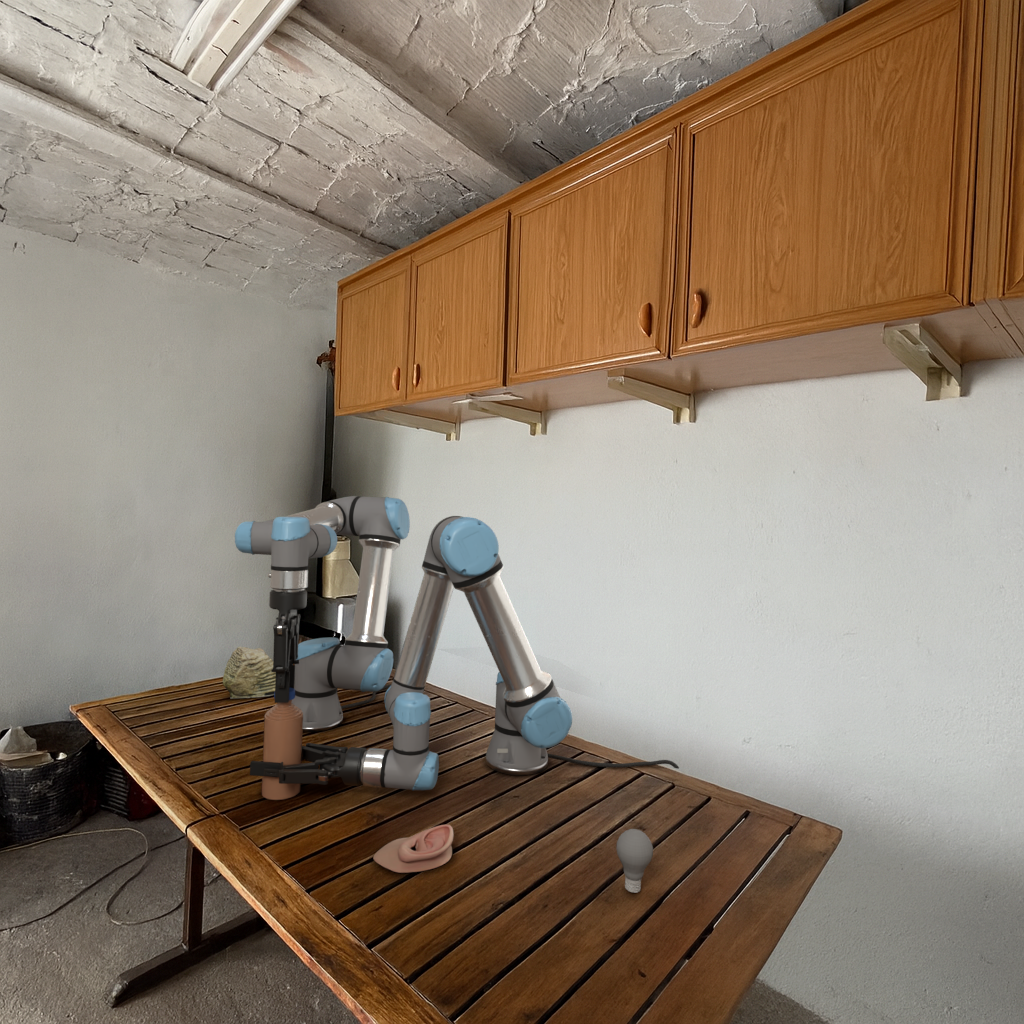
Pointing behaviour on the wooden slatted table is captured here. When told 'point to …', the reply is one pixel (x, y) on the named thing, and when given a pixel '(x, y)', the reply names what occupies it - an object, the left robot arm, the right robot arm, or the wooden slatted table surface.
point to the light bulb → (634, 857)
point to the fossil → (249, 674)
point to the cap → (290, 693)
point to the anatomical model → (417, 851)
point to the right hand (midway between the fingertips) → (260, 759)
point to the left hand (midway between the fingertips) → (284, 698)
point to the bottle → (282, 746)
